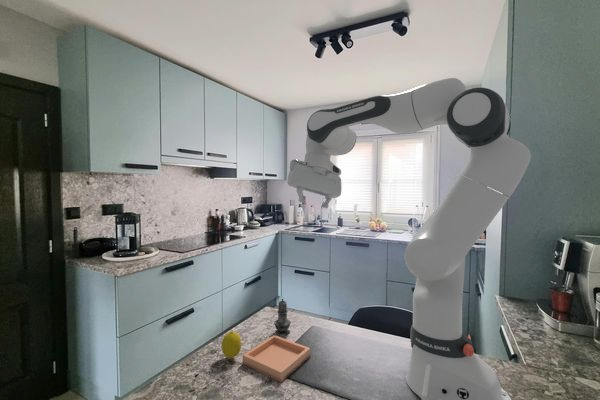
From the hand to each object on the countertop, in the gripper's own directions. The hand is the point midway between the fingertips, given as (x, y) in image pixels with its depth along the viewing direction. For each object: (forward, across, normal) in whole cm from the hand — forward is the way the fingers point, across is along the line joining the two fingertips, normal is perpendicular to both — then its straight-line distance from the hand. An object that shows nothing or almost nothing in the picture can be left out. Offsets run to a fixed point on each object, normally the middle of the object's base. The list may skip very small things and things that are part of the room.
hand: (313, 204), depth 90 cm
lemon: (+48, -16, +13) cm, 53 cm away
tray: (+47, -5, +6) cm, 48 cm away
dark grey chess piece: (+43, +4, +19) cm, 47 cm away
